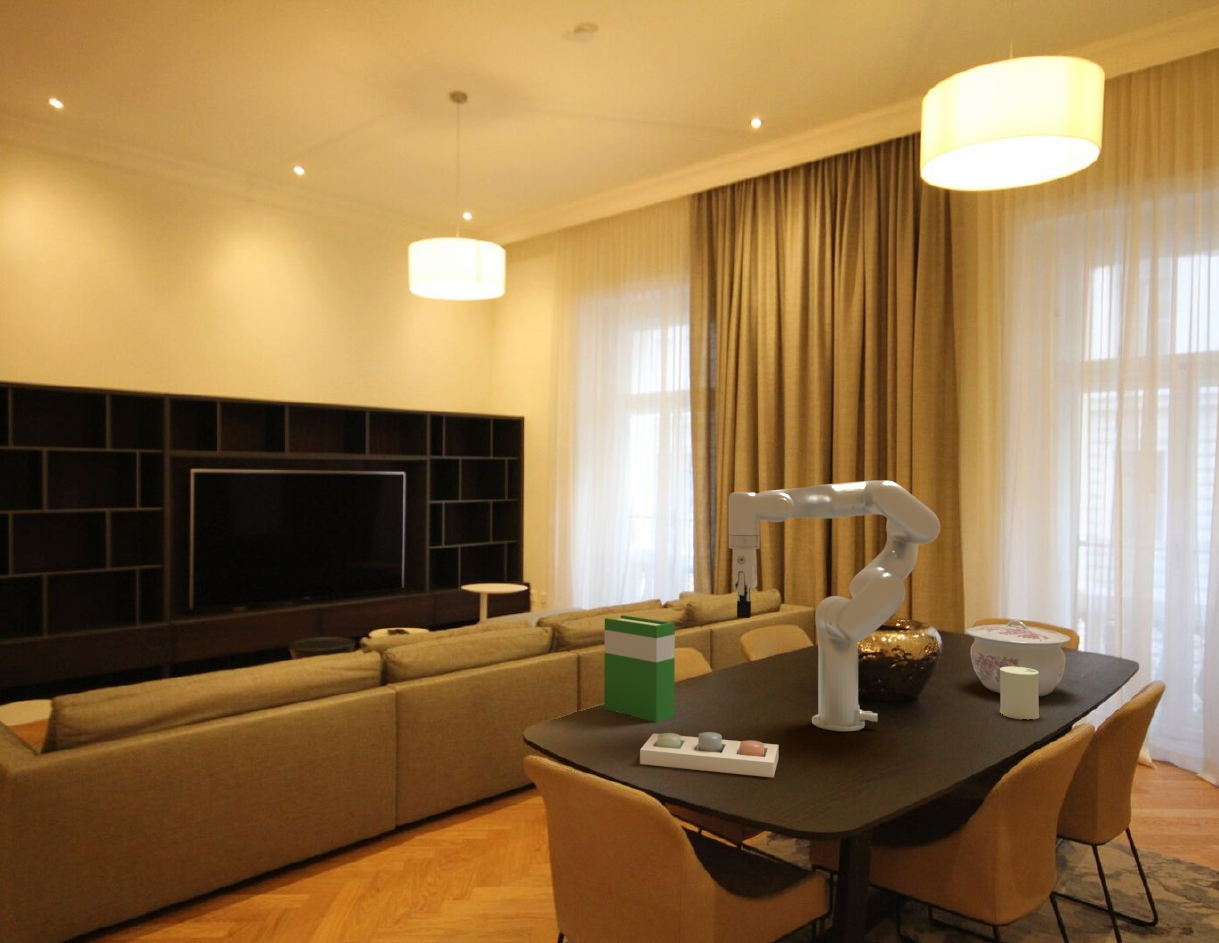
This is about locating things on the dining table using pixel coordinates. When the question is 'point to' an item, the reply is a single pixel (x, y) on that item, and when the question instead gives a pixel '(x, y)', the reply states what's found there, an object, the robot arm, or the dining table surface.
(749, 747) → the terracotta button
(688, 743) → the button panel
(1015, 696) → the can
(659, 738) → the sage button
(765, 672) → the dining table surface
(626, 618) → the hardback book
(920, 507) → the robot arm
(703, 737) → the grey button
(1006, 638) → the chamber pot
